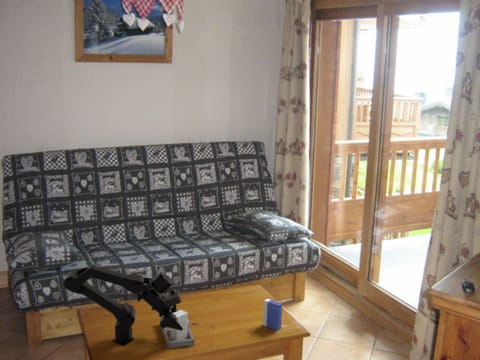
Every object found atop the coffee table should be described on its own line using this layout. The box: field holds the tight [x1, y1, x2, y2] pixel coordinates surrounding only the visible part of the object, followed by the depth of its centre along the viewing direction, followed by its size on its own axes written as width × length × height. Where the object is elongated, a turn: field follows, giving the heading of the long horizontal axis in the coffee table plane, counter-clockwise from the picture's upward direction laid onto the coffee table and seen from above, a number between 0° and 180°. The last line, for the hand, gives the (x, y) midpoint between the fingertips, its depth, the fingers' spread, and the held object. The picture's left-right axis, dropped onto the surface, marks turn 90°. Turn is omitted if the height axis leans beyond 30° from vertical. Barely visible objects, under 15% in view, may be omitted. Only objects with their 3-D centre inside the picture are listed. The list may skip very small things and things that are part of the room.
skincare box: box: [169, 309, 189, 341], centre depth 237 cm, size 6×4×12 cm
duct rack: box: [159, 317, 195, 349], centre depth 242 cm, size 20×11×5 cm, turn 16°
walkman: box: [262, 298, 283, 331], centre depth 251 cm, size 8×3×12 cm, turn 54°
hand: (182, 325), depth 237 cm, fingers closed on skincare box, 7 cm apart
